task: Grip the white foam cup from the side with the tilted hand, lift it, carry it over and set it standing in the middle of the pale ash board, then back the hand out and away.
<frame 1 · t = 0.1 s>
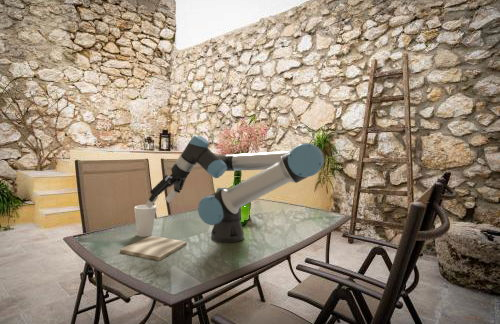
hand: (158, 203, 121), 15 cm above the table, tool tilted 35°, fingers open, 13 cm apart
french press: (243, 219, 160), on the table
foam cup: (144, 234, 124), on the table
ash board: (154, 248, 108), on the table
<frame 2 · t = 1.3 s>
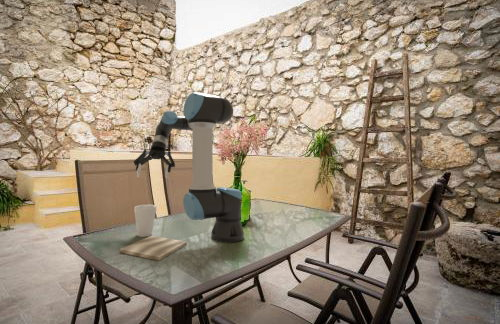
hand: (151, 176, 132), 26 cm above the table, tool tilted 45°, fingers open, 13 cm apart
nothing on the table moved.
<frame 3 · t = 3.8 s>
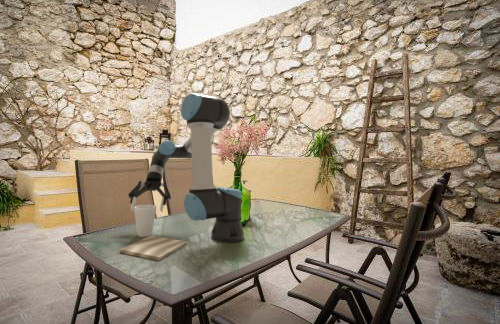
hand: (146, 210, 128), 10 cm above the table, tool tilted 45°, fingers open, 13 cm apart
nothing on the table moved.
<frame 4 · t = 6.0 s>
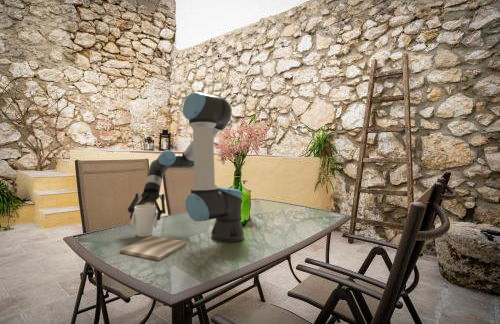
hand: (143, 225, 121), 5 cm above the table, tool tilted 45°, fingers closed on foam cup, 9 cm apart
foam cup: (144, 234, 124), on the table, touching gripper
everything else where it was.
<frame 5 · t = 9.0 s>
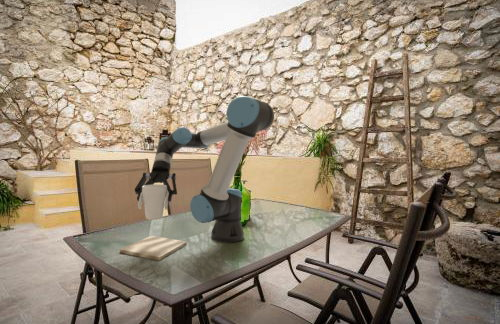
hand: (152, 207, 105), 17 cm above the table, tool tilted 45°, fingers closed on foam cup, 9 cm apart
foam cup: (154, 218, 109), point 12 cm above the table, touching gripper
everything else where it was.
when the fingers open (8 cm above the table, at t = 11.9 s): foam cup drops 1 cm, resting on ash board.
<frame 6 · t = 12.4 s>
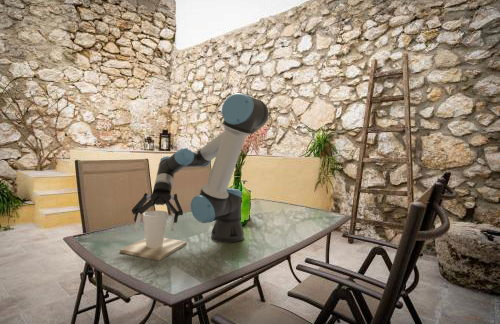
hand: (154, 229, 105), 8 cm above the table, tool tilted 45°, fingers open, 13 cm apart
foam cup: (154, 245, 108), point 1 cm above the table, touching ash board
everything else where it was.
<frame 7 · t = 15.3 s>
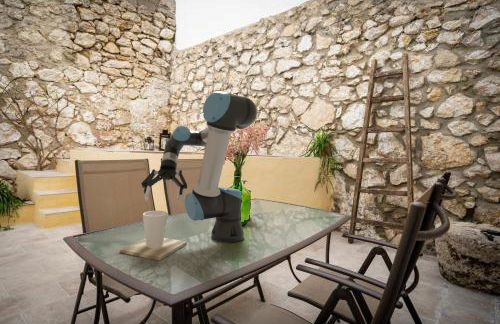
hand: (161, 199, 117), 18 cm above the table, tool tilted 45°, fingers open, 13 cm apart
nothing on the table moved.
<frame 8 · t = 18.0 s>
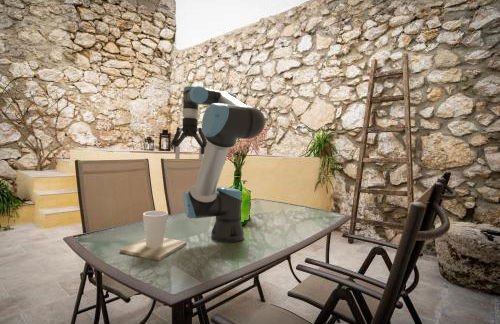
hand: (188, 160, 136), 35 cm above the table, tool pointing down, fingers open, 13 cm apart
nothing on the table moved.
at the end: foam cup inside the target area on the ash board (0.1 cm from its centre), point 1.0 cm above the ash board's base; foam cup tilted 0°; the gripper is holding nothing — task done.
